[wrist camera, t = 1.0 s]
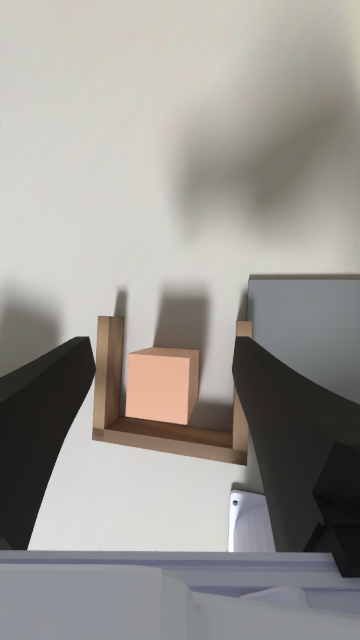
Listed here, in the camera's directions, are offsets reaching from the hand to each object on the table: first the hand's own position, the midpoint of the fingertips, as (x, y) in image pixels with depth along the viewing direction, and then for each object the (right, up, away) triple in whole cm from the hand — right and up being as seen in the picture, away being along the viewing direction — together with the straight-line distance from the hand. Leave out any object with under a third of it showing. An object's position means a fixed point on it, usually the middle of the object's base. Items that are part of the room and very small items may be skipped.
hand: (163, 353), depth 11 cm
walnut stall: (0, -4, +12) cm, 13 cm away
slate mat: (+12, -1, +10) cm, 15 cm away
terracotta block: (0, -4, +12) cm, 13 cm away
